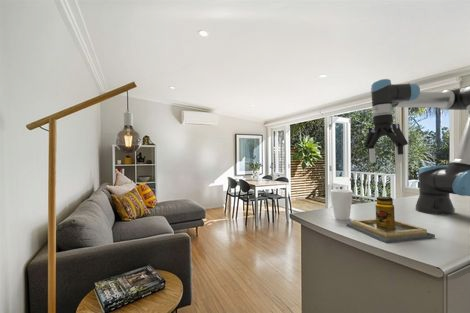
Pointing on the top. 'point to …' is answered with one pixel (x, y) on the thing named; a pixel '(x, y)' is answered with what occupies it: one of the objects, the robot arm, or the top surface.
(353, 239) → the top surface
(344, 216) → the foam cup
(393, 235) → the wooden rimmed tray
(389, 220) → the condiment
